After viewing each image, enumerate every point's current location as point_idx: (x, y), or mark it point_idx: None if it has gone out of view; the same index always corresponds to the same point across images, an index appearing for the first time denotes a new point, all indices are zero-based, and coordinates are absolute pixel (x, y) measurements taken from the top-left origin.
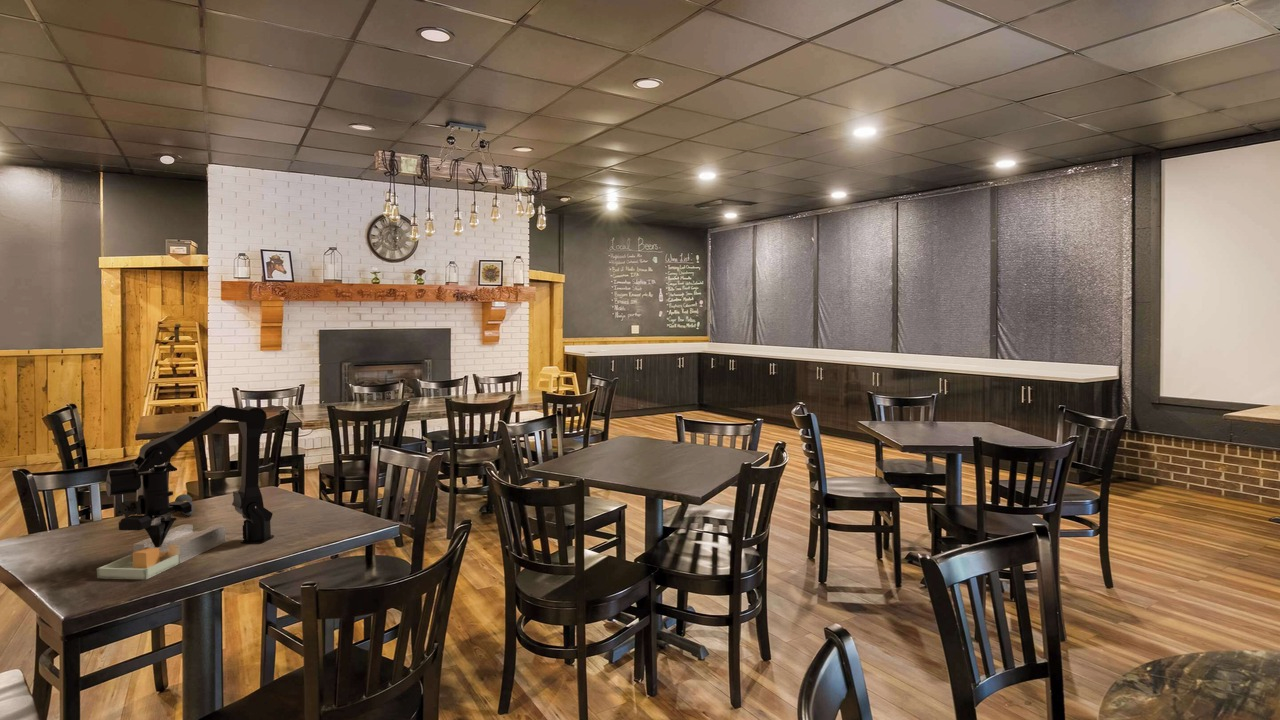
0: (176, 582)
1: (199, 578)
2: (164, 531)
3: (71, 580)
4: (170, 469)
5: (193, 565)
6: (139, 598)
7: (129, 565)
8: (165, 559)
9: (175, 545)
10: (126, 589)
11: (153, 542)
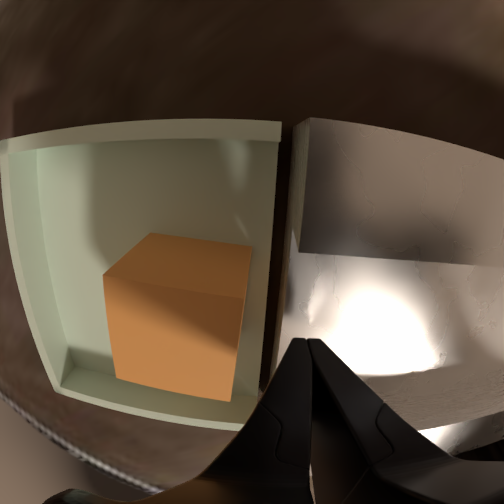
0: (94, 442)
1: (136, 473)
2: (318, 495)
3: (24, 40)
4: None
5: None
6: (5, 399)
7: (182, 178)
8: (274, 348)
9: None
10: (9, 346)
11: (280, 366)
